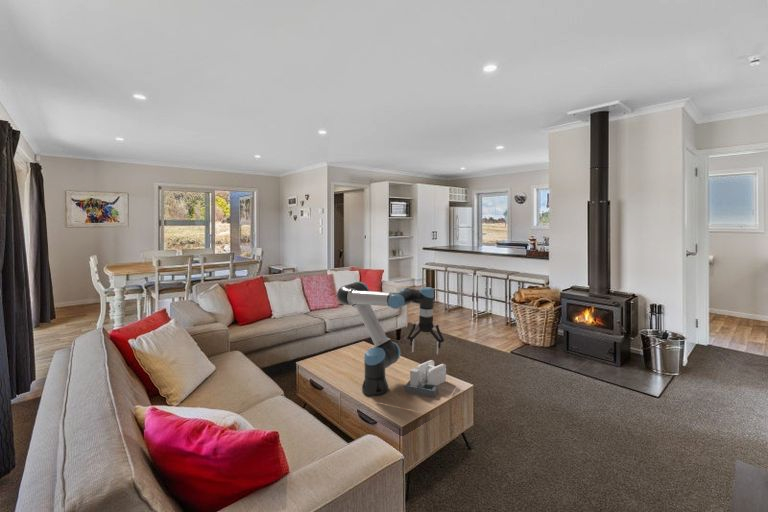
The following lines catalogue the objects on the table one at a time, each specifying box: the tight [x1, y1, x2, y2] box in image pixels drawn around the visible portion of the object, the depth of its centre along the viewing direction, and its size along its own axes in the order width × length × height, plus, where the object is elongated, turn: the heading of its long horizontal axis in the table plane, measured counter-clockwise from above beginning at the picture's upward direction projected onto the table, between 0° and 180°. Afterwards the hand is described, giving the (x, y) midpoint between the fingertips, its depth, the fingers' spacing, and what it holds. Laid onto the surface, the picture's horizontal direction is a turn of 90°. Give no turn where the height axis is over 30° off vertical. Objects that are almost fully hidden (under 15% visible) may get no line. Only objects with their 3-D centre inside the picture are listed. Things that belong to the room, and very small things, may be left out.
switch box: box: [404, 379, 439, 398], centre depth 207 cm, size 17×7×4 cm, turn 65°
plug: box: [409, 367, 419, 387], centre depth 208 cm, size 4×5×12 cm
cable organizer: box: [416, 359, 447, 386], centre depth 217 cm, size 15×11×12 cm
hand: (425, 352), depth 205 cm, fingers open, 13 cm apart
